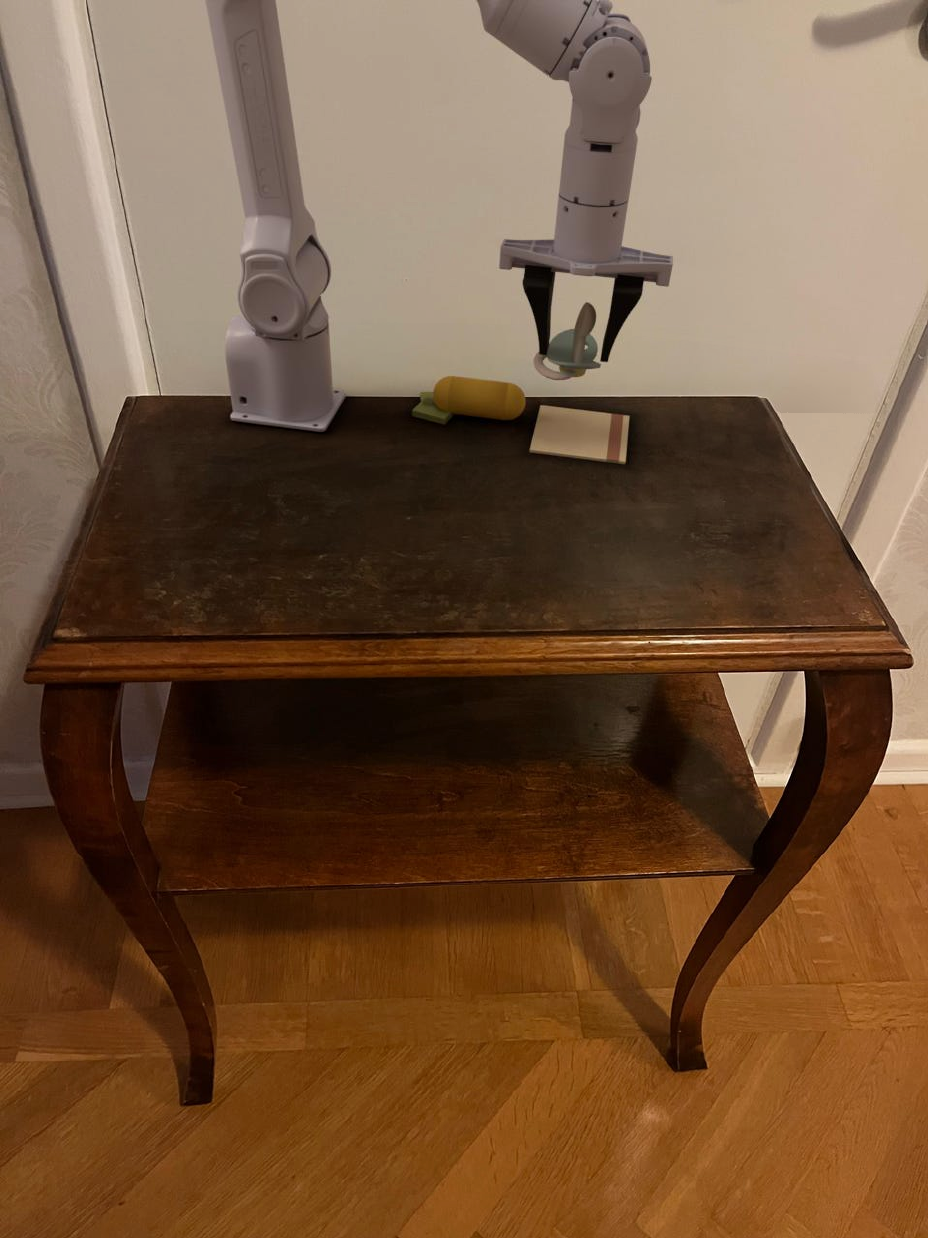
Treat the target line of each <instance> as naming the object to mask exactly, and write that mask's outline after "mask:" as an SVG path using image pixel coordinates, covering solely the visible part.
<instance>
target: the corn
mask: <svg viewBox="0 0 928 1238" xmlns="http://www.w3.org/2000/svg"><path fill="white" fill-rule="evenodd" d="M419 400H420V402H419V403H418V404H417V405H416V406H415V407H414V408H413V409H412V410H411V417H414V418H418V419H422V420H425V421H429V422H433V423H436V424H440V425H444V426H445V425H446V424H448V422H449V421H450V420H451V419H452V418H453V417H454V415H459V416H468V417H474V418H475V417H476V418H483V419H491V420H499V421H500V420H501V421H512V420H515V419H517V418H518V417H520V416H521V415H522V414H523V412H524V410H525V407H526V395H525V393H524V391H523V390H522V388H521V387H519V385H517V384H515V383H512V382H508V381H507V382H506V381H498V380H489V379H481V378H473V377H464V376H458V375H457V376H455V375H447V376H445V377H442V378H441V379H439V380H438V381H437V382H436V384H435V386H434V388H433V390H432V391H420V394H419Z"/></svg>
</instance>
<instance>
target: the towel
mask: <svg viewBox="0 0 928 1238" xmlns="http://www.w3.org/2000/svg"><path fill="white" fill-rule="evenodd" d="M629 426H630V415H625V414H619V413H608V412H601V411H593V410H586V409H585V410H584V409H575V408H568V407H560V406H559V407H558V406H551V405H542V404H541V405H540V406H539V410H538V414H537V418H536V422H535V427H534V431H533V435H532V438H531V443H530V447H529V453H531V454H533V453H534V454H540V455H547V456H548V455H549V456H554V457H555V456H557V457H564V458H571V459H578V460H579V459H580V460H588V461H596V462H603V463H612V464H619V465H626V463H627V450H628V440H629Z"/></svg>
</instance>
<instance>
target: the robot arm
mask: <svg viewBox="0 0 928 1238" xmlns="http://www.w3.org/2000/svg"><path fill="white" fill-rule="evenodd" d="M475 1H476V2H477V5H478V8H479V13H480V17H481V22H482V27H483V30H484V32H486V33H487V34H488V35H490V36H492V37H493V38H494V39H496V40H497V41H498V42H500V43H501V44H503V45H504V46H505V47H507V48H508V49H510V50H511V51H513V53H515V54H516V55H518V56H519V57H520V58H522V59H524V60H525V61H526V62H528V63H529V64H531V65H532V66H533V67H534V68H536V69H538V70H539V71H540V72H542V73H543V74H545V75H546V76H548V77H549V78H551V80H553V81H564V82H567V83H568V85H569V90H570V94H571V97H572V99H571V100H572V101H571V109H570V117H569V118H570V119H569V125H568V127H567V129H566V130H565V133H564V137H563V138H564V140H563V148H562V159H561V169H560V177H559V187H558V188H559V189H558V195H557V196H558V197H557V207H556V216H555V217H556V218H555V227H554V237H553V238H552V239H551V238H550V239H509V238H504V239H503V240H502V242H501V245H500V247H499V248H500V249H499V264H498V265H499V266H498V269H499V270H506V271H507V270H509V271H511V270H512V269H513V268H514V269H515V268H516V269H523V270H524V272H523V278H522V287H523V292H524V294H525V296H526V299H527V300H528V303H529V307H530V309H531V312H532V315H533V319H534V323H535V327H536V333H537V340H538V352H539V354H540V355H547V351H548V348H549V343H550V342H551V329H552V328H551V327H552V326H551V325H552V324H551V323H552V321H551V320H552V306H553V305H552V304H553V296H554V287H555V281H556V273H563V274H571V275H573V276H580V277H581V276H582V277H600V278H610V279H614V281H613V287H612V295H611V301H610V308H609V314H608V319H607V323H606V327H605V332H604V336H603V340H602V347H601V351H600V353H601V354H600V361H599V363H600V362H601V363H609V359H610V355H611V351H612V349H613V346H614V344H615V342H616V340H617V337H618V335H619V333H620V331H621V329H622V327H624V324H625V322H626V321H627V319H628V317H629V316H630V315H631V313H632V312H633V310H634V309H635V307H636V306H637V305H638V303H639V302H640V299H641V298H642V296H643V291H644V282H648V283H655V285H656V286H657V287H666V288H668V287H670V282H671V276H672V271H673V265H674V256H673V255H668V254H667V255H666V254H659V253H654V252H649V251H645V250H641V249H636V248H632V247H628V246H623V239H624V232H625V227H626V219H627V213H628V208H629V200H630V195H631V189H632V188H631V187H632V182H633V176H634V168H635V162H636V154H637V149H638V148H637V147H638V142H639V138H638V135H637V128H638V126H639V125H640V120H641V112H642V111H641V104H642V103H643V102H644V100H645V99H646V97H647V95H648V93H649V90H650V87H651V85H652V80H653V78H652V76H651V61H650V56H649V52H648V47H647V43H646V40H645V37H644V36H643V33H642V32H641V31H640V30H639V28H638V27H637V26H636V25H635V24H633V23H632V21H631V19H630V17H629V16H628V15H626V14H623V13H618V12H611V11H612V9H613V6H614V5H613V2H611V1H610V0H475ZM204 2H205V6H206V12H207V17H208V24H209V29H210V34H211V39H212V44H213V50H214V56H215V61H216V67H217V72H218V77H219V82H220V89H221V93H222V100H223V105H224V109H225V110H224V111H225V115H226V121H227V126H228V132H229V136H230V143H231V148H232V155H233V159H234V164H235V170H236V176H237V180H238V187H239V191H240V197H241V203H242V208H243V213H244V224H243V231H242V237H241V244H240V249H239V258H240V262H241V279H240V280H239V281H240V282H239V285H238V288H237V303H238V308H239V309H240V312H241V314H242V315H237V316H234V317H233V318H232V319H231V321H230V322H229V325H228V327H227V330H226V334H225V342H224V358H225V365H226V372H227V378H228V388H229V393H230V401H231V407H232V408H231V409H232V412H231V414H230V415H229V416H230V420H231V421H232V422H239V423H247V424H255V425H262V426H270V427H279V428H286V429H294V430H302V431H308V432H309V431H310V432H317V433H323V432H325V431H327V429H328V427H329V426H330V424H331V422H332V421H333V419H334V418H335V415H336V414H337V413H338V411H339V409H340V407H341V406H342V404H343V403H344V400H345V399H346V397H347V392H346V390H343V389H335V388H334V387H333V386H334V385H333V370H332V354H331V353H332V351H331V339H330V323H329V322H330V321H329V317H330V316H329V313H328V312H327V310H326V308H325V306H324V304H323V301H322V296H321V295H323V294H324V293H325V291H326V290H327V288H329V285H330V282H331V279H332V265H331V262H330V259H329V256H328V254H327V252H326V250H325V248H324V247H323V246H322V244H321V241H320V240H319V238H318V235H317V229H316V222H315V219H314V217H313V215H311V213H310V212H309V210H308V208H307V207H306V205H305V199H304V189H303V184H302V178H301V177H302V176H301V170H300V163H299V156H298V147H297V142H296V134H295V127H294V121H293V113H292V108H291V106H292V105H291V99H290V92H289V84H288V77H287V71H286V63H285V55H284V50H283V49H284V48H283V43H282V36H281V29H280V22H279V21H280V20H279V14H278V8H277V0H204Z"/></svg>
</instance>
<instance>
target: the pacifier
mask: <svg viewBox="0 0 928 1238" xmlns="http://www.w3.org/2000/svg"><path fill="white" fill-rule="evenodd" d="M596 322H597V311H596V309H595V307H594V305H593V304H592V303H590V302H588V301H586V302H584V304H583V305H582V306H581V309H580V311H579V313H578V316H577V318H576V321H575V326H574V328H570V329H569V328H568V329H566V330H565V329H564V330H563V331H561V332H559V333H557V334H556V335H555V336H553V338H552V339H550V341H549V348H548V351H547V355H540V354H539V351H538V352H536V353H535V355H534V357H533V367H534V369H535V371H537V373H538V374H540V375H541V376H542V377H545V378H547V379H549V380H553V381H565V380H569V379H571V378H581V377H584V375H586V371H587V370H594V369H600V368H601V366H602V363H600V362H598V361H596V360H595V359H596V357H597V354H598V351H599V350H598V349H599V347H598V342H597V340H596V339H595V338H594V336H593V335H592V334H591V333H592V332H593V329H594V328H595V325H596ZM586 347H587V348H586ZM546 359H547V360H548V362H550V363H551V364H553V365H556V366H558V368H559V371H556V370H554V369H550V368H549V367H548V366H546V365H545V363H544V361H545V360H546Z"/></svg>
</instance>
